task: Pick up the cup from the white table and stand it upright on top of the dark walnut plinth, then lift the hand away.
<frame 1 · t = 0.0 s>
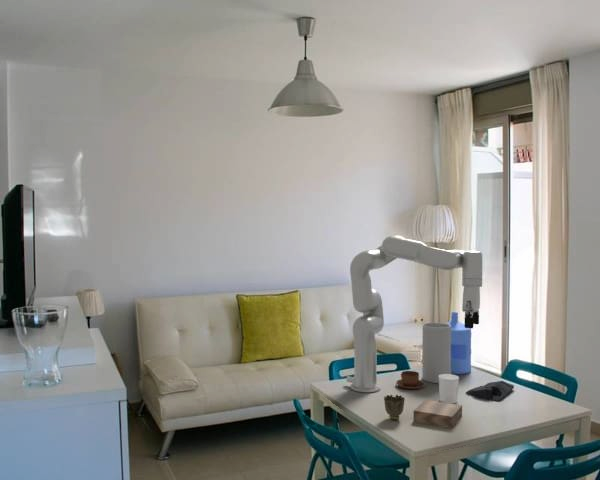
hand: (471, 325, 226), 31 cm above the table, tool pointing down, fingers open, 9 cm apart
walnut plinth: (438, 418, 211), on the table
cylinder vase: (436, 380, 262), on the table
cup: (394, 419, 211), on the table
black crumpled fabric piece: (491, 394, 243), on the table
water jug: (454, 370, 278), on the table
cup and saucer: (410, 387, 252), on the table
white cup: (448, 401, 232), on the table
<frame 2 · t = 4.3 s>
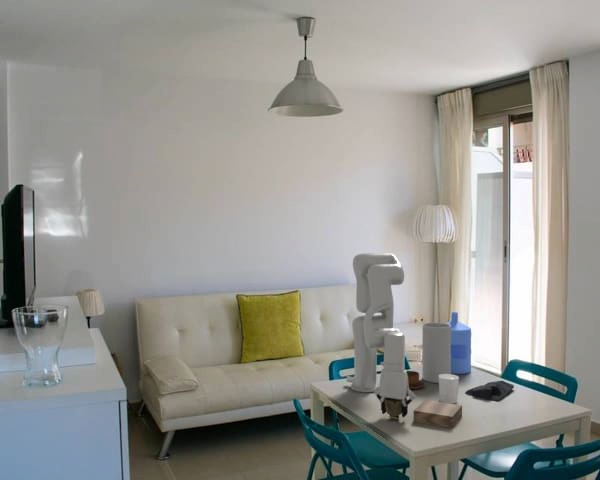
hand: (394, 414, 211), 2 cm above the table, tool pointing down, fingers closed on cup, 7 cm apart
cup: (394, 419, 211), on the table, touching gripper
everything else where it was.
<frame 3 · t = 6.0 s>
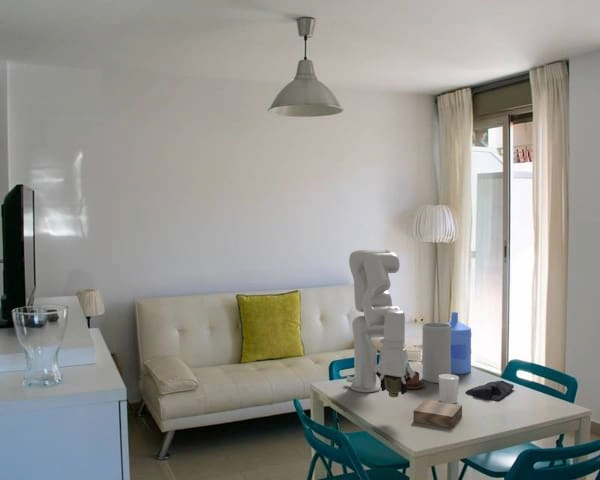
hand: (393, 391, 212), 10 cm above the table, tool pointing down, fingers closed on cup, 7 cm apart
cup: (393, 396, 212), point 8 cm above the table, touching gripper
everything else where it was.
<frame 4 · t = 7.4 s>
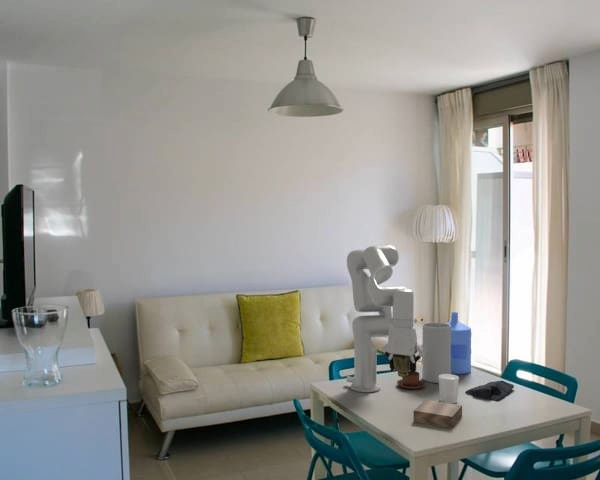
hand: (402, 371, 211), 18 cm above the table, tool pointing down, fingers closed on cup, 7 cm apart
cup: (402, 376, 211), point 16 cm above the table, touching gripper
everything else where it was.
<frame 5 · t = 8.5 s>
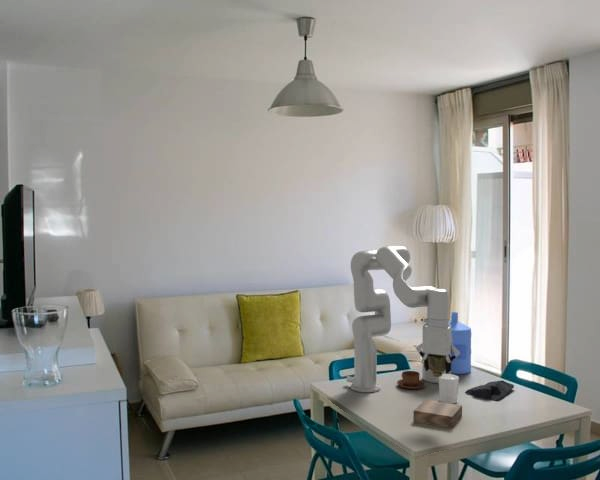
hand: (437, 371, 211), 18 cm above the table, tool pointing down, fingers closed on cup, 7 cm apart
cup: (437, 376, 211), point 16 cm above the table, touching gripper
everything else where it was.
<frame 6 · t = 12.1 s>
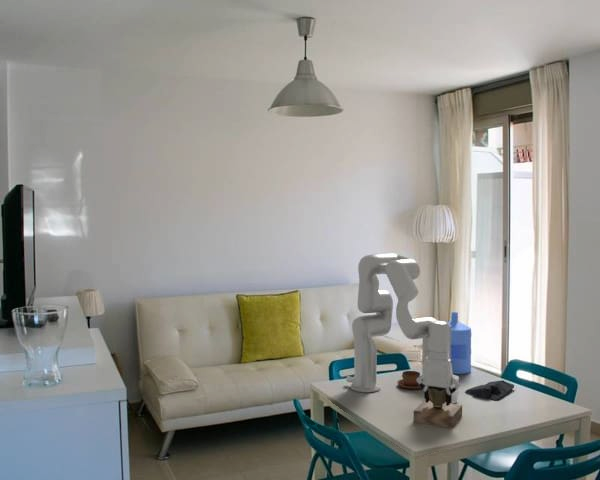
hand: (437, 402, 211), 6 cm above the table, tool pointing down, fingers closed on cup, 7 cm apart
cup: (437, 408, 211), point 4 cm above the table, touching gripper, walnut plinth
when the fingers open (6 cm above the table, at t = 13.0 s): cup stays where it is, resting on walnut plinth.
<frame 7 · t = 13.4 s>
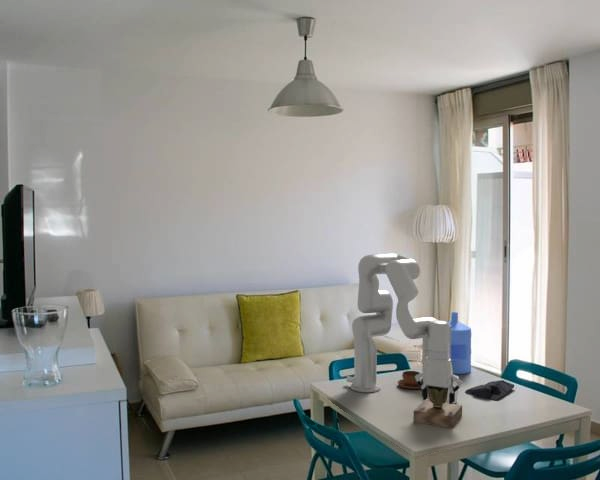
hand: (438, 401, 211), 6 cm above the table, tool pointing down, fingers open, 9 cm apart
cup: (437, 408, 211), point 4 cm above the table, touching walnut plinth
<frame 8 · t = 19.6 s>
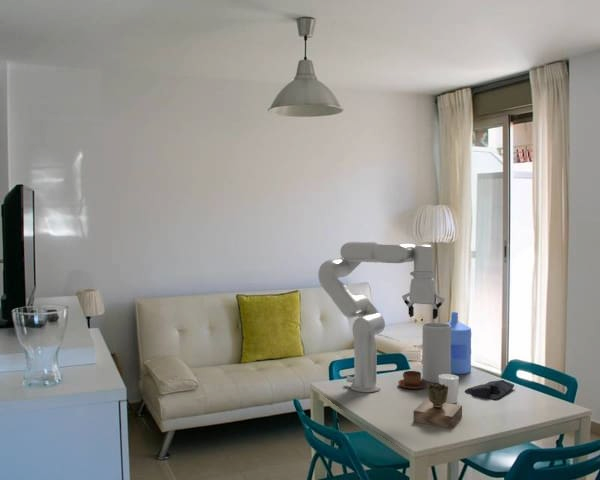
hand: (423, 317, 234), 33 cm above the table, tool pointing down, fingers open, 9 cm apart
at the end: cup 0.2 cm off-centre on the walnut plinth, point 3.8 cm above the walnut plinth's base; cup tilted 0°; the gripper is holding nothing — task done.
